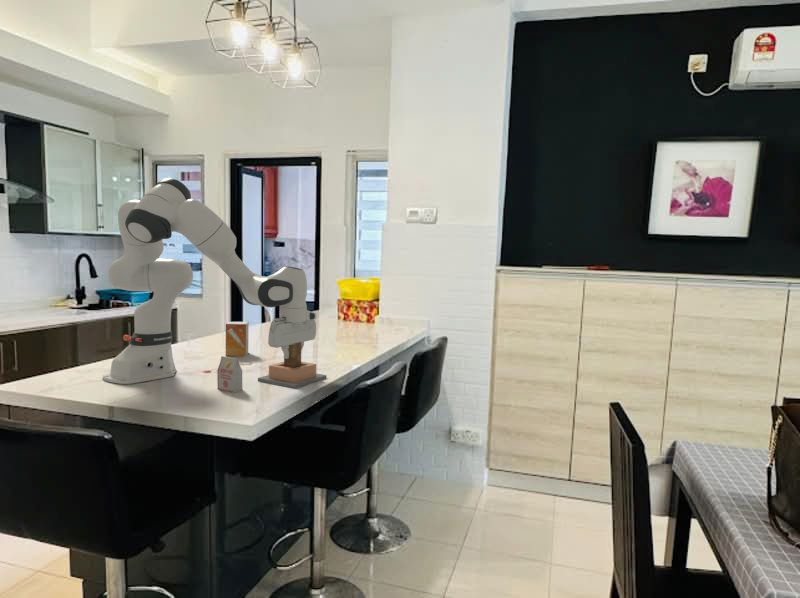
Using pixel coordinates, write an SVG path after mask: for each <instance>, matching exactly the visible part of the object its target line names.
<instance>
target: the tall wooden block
mask: <svg viewBox="0 0 800 598" xmlns="http://www.w3.org/2000/svg"><path fill="white" fill-rule="evenodd" d="M288 351H289V353H291V358H288V359H285V358H284V357H283V362H284V367H290V368H297V367H300V366H301V362H302V351H301V342H299V343H295V344H292V345H289V348H288Z"/></svg>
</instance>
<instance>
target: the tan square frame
mask: <svg viewBox="0 0 800 598" xmlns="http://www.w3.org/2000/svg"><path fill="white" fill-rule="evenodd" d="M325 379H327V374H322V373H317V363H313V362H306V361H301V366H300V367H297V368H290V367H284V361H281V362H278V363H274V364H271V365H268V375H263V376H260V377H257V382H259V383H260V382H261V383H265V384H269V385H270V384H271V385H275V386H281V387H285V388H291V389H298V388H301V387H305V386H307V385H310V384H313V383H316V382H319V381H322V380H325Z"/></svg>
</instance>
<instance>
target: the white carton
mask: <svg viewBox="0 0 800 598" xmlns="http://www.w3.org/2000/svg"><path fill="white" fill-rule="evenodd" d="M216 373H217V379H216V380H217V390H220V391H225V392H229V393H232V394H233V393H236V392H237V393H238V392H240V391H243V369H242V368H241V364H240V362H239V359H238V358H235V357H229V356H223V355H222V356H221V358H220V362H219V365H218V367H217V371H216Z"/></svg>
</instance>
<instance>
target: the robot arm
mask: <svg viewBox="0 0 800 598" xmlns="http://www.w3.org/2000/svg"><path fill="white" fill-rule="evenodd" d="M117 220H118V223H117V225H118V228H119V229H118V230H119V234H120V237H121V241H122V243H123V249H124V253H123V255H122V256H121V257H119V258H118V259H116V260H114V261H113V262H112V263H111V264H110V266H109V269H108V273H107V275H108V279H109V281H110V284H111V285H112V286H113V287H114V288H115V289H119V290H124V291H129V292H153V295H152V297H151V299H149V300H147V301H144V302H143V303H141V304H139V305H138V306H137V307H136V308H135V310H134V312H133V314H134V315H133V316H134V318H133V319H134V332H133V333H132V335H130V334H124V335H123V336H122V338H123V341H126V342H129V345H128V346H126V347H125V349H123V350H122V351H121V352H120V353H118V355H116V356H115V357H114V358H113V359H112V361H111V366H110V373H106V374H104V375H102V380H104V381H105V382H110V383H114V384H120V385H121V384H122V385H123V384H124V385H131V384H136V383H144V382H147V381H153V380H155V381H156V380H159V379H165V378H171V377H174V376H175V373H177V369H176V365H175V361H174V357H173V349H172V345H173V344H172V343H173V331H172V329H171V328H172V327H171V323H172V321H171V319H172V309H173V306H174V303H175V301H176V300H177V298H178V297H179V296H180V294H182V293H183V292H184V291H185V290H187V289H188V288H189V287H190V286H191V284H192V282H193V280H194V272H193V268H192V266H191V265H190V263H188V262H187V261H184V260H180V259H176V258H175V259H174V258H160V257H161V255H162V254H163V251H164V248H165V247H164V242H163V240H168V239H170V238H171V237H172V236H173V235H172V233H173V232H176V233H179V234H181V235H182V236H184V237H185V238H186V239H187V240H188V242H190V243H191V245H193V247H195V248H196V249H197V250H198V251H199V252H200V253H202V254H203V255H204V256H205V257H207V258H208V259H210V260H211V261H212V262H214V263H215V264H216V265H218V267H219V268H220V269H221V270H222V271H223V272H224V273H225V274H226V275H227V276H228V277H229V278H230V279H231V281H232V282H234V284H235V285H236V287H237V288H238V290H239V293H240V295H241V297H242V299H243V300H244V301H245V302H246V303H247V304H249V305H252V306H260V307H265V308H269V309H270V308H275V307H279V317H275V318H274V319H273V320H272V321H271V322H270V327H269V330H268V343H267V344H268V346H269V347H270V348H277V349H278V348H280V349H281V351H282V353H283V359H284V358H285V359H288V358H291V353H289V351H288V348H289V345H292V344H295V343H299V342H301V352H302V351H303V348H304V346H305V342H309V341H314V340H315V338H316V336H317V323H316V319H317V313H316V312H313V311H310V310H308V306H307V301H306V298H307V294H308V281H307V274H306V272H305V270H304V269H302V268H300V267H293V266H289V265H287V266H282V267H281V269H279V270H278V271H276V272H274V273H273V274H270V275H268V276H265V275H264V276H263V275H260V274H257V273H254V272H253V271H252V270H251V269H250V268H249V267H248V266H247V265H246V264H245V263H244V262H243V260H241V259H240V257H239V256H238V254H237V253H236V250H235V249H236V248H237V237H236V235H235V234H234V232H233V230H232V228H231V227H230V226H228V224H227V223H226V222H225V221H224V220H223V219H222V218H221V217H220V216H219V215H217V214H216V212H215V211H213V210H212V209H211V208H210V207H209V206H207V205H206V204H204V203H203V202H201V201H200V200H198V199H195V198H192V195H191V192H190V190H189V188H188V187H187V186H186V185H185V184H184V183H183V182H182V181H180V180H178V179H175V178H171V177H167V178H163V179H161V180H160V181H158V182H156V183H155V184H154V186H153V187H152V188H150V189H149V190H148V191H147V192H146V193H144V195H143V196H142V197H141V199H140V200H139V199H131V200H127V201H126V202H124V203H122V204H121V205H120V206H119V208H118V211H117Z"/></svg>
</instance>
